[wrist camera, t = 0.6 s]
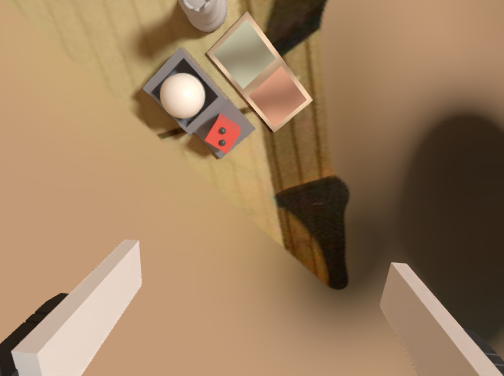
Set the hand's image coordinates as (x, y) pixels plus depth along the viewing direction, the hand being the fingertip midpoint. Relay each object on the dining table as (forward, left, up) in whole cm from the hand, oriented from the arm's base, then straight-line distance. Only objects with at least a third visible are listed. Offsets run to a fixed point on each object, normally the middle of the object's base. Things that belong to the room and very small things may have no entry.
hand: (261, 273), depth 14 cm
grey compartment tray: (-3, -6, -23) cm, 24 cm away
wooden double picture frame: (-8, 0, -23) cm, 25 cm away
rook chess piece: (-13, -8, -24) cm, 28 cm away
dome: (-4, -8, -21) cm, 23 cm away
